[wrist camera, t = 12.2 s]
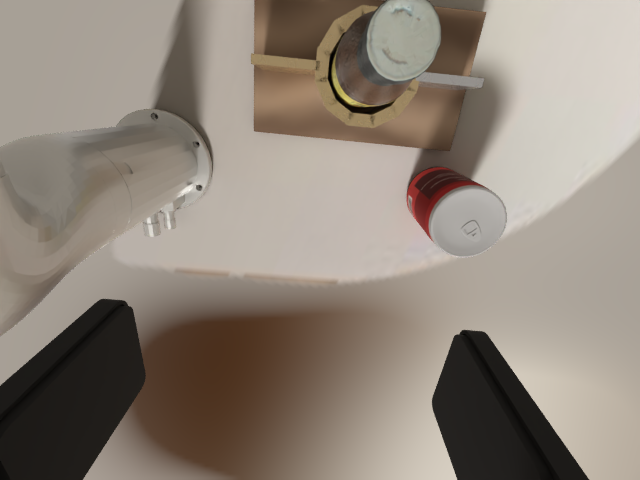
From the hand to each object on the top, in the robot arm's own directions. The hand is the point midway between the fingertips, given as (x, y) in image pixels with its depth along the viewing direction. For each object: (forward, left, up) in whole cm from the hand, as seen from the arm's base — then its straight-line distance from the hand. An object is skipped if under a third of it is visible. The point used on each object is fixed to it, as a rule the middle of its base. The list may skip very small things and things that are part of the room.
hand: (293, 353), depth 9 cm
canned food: (-3, -16, -34) cm, 37 cm away
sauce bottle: (+10, -4, -32) cm, 34 cm away
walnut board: (+10, -4, -33) cm, 35 cm away
